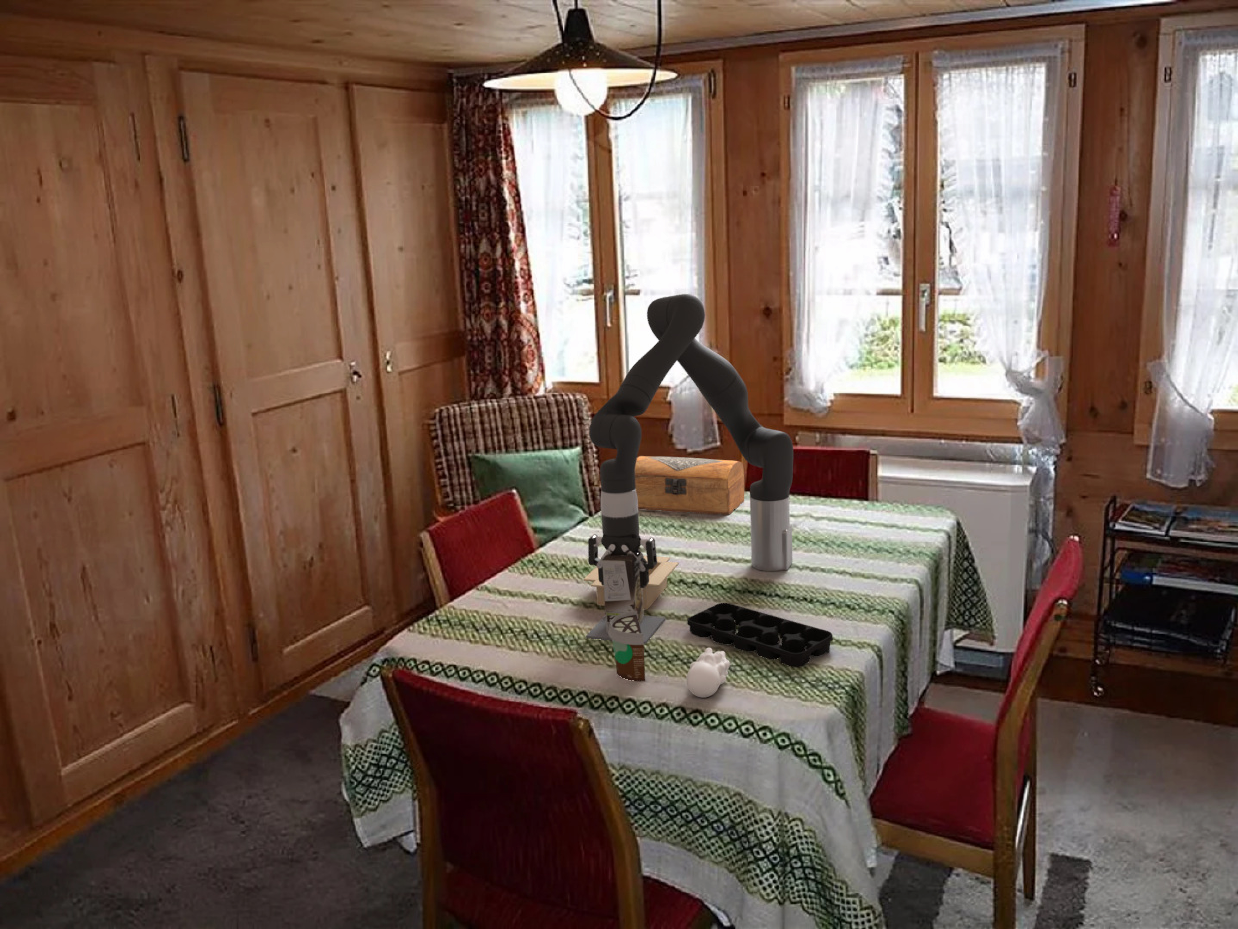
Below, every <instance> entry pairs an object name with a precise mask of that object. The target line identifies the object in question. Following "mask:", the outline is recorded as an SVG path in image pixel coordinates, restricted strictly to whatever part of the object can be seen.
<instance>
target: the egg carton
mask: <svg viewBox="0 0 1238 929" xmlns="http://www.w3.org/2000/svg"><path fill="white" fill-rule="evenodd" d="M686 625H687V626H689V632H690V633H691V635H693V636H695V637H698V638H704V639H705V638H706V639H707V638H711V641H712V642H714V643H718V644H720V645H726V646H727V645H729V646H730V645H733V648H734V649H736V650H740V651H742V650H743V651H742V652H745V651H746V652H747V653H753V652H755V653H756V655H757V656H758V657H760V656H762V657H761V658H763V657H764V658H763V659H766V658H767V659H766V660H770V659H773V660H774V659H775V660H778V659H777V658H779V661H780V664H782V663H783V665H784V664H785V665H784V666H787V665H788V666H787V667H790V666H791V667H790V668H802V667H804V666H806V665H807V664H809V663H810V661H811V657H821V656H824V655H826V654H828V653H829V652H830V648H831V642H833V641H834V636H833V633H832V632H831V631H828V630H826V629H822V628H818V627H814V626H811V625H807V624H805V623H800V622H798V621H793V620H790V619H786V618H783V617H779V616H776V615H772V614H768V613H764V612H762V611H757V610H754V609H750V608H747V607H743V606H741V605H736V604H733V603H729V602H719V603H717V604H714V605H712V606H710V607H709V608H706V609H704V610H702V611H700V612H698V613H696V614H694V615H692V616H690V617H688V618H687V619H686ZM737 626H738V627H737ZM780 640H781V643H779V642H780ZM773 660H772V661H773ZM775 660H774V661H775ZM808 662H809V663H808Z"/></svg>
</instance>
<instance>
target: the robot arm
mask: <svg viewBox="0 0 1238 929" xmlns="http://www.w3.org/2000/svg"><path fill="white" fill-rule="evenodd" d="M705 317H706V313H705V307H704V304H703V302H702V301H701V299H700V298H699V297H697V296H696V295H694V294H691V293H682V294H675V295H669V296H663V297H659V298H657V299H654V300H652V301H651V303H650V304H649V305H648V306H647V311H646V318H647V323H648V326H649V328H650V330H651V332H652V334H653V336H654V337H655V338H656V339H657V340H658V341H657V343H655V344H654V346H652V347H651V348H650V349H649V350H648V351H647V352H646V353H644V355H642V356H641V357H640V358H639V359H638V360H637V361H636V362H635V364H633V366H632V367H631V368H630V369H629V370H628V372H627V374H626V375H625V378H624V379H623V380H622V382H621V384H620V386H619V388H618V390H617V392H616V393H615V394H614V395H612V396H611V397H610V398H609V399H608V400H607V401H606V403H604V404H603V406H601V408H599V409H598V411H597V412H596V413H595V414H594V416H593V417H592V419H591V421H590V423H589V429H588V435H589V439H590V441H591V443H592V444H593V445H594V446H596V447H598V448H601V449H611V450H616V456H615V458H610V459H607V460H604V461H602V463H601V465H600V467H599V473H600V474H599V476H600V477H599V478H600V490H601V491H600V511H601V514H600V515H601V525H602V526H601V529H602V536H598V535H597V533H594V534H593V535H591V536H590V537H589V538H588V540H587V541H588V542H587V544H588V546H587V550H588V552H587V553H588V555H587V557H588V558H587V561H588V564H589V566H594V567H597V568H598V575H599V576H598V577H599V582H601V585H604V582H603V564H602V560H603V558H604V557H605V556H610V555H628V557H634V563H635V564H636V565H637V566H638V568H639V569H640V571H639V575H640V588H645V587H646V585H647V584H648V583H649V569H653V568H654V567H655V566H656V565H657V557H658V556H657V548H656V540H655V538H654V537H649V539H647V538H646V539H645V538H644V539H643V538H641V536H640V523H639V522H640V518H639V510H638V499H637V494H636V484H635V465H636V460H637V458H638V456H639V449H640V446H641V440H642V427H641V424H640V423H639V421H638V419H637V418H636V417H638V416H641V415H643V414H644V413H645V412H646V411H647V409H648V408H649V406H650V404H651V402H652V401H653V399H654V397H655V395H656V393H657V391H658V389H659V387H661V385H662V382H663V381H664V380H665V378H666V376H667V375H668V373H669V372H670V371H671V369H672V368H673V366H674V365H675V364H676V362H678V364H679V365H680V367H682V369H683V370H684V372H686V374H687V375H688V377H689V378H690V379H691V381H692V382H693V383H694V385H695V386H696V387H697V389H698V390H699V392H700V394H701V395H702V397H704V399H705V401H706V402H707V404H708V405H709V406H710V407H711V408H712V410H713V411H714V412H715V414H716V415H717V417H718V418H719V419H720V421H721V422H722V423H723V425H724V426H725V427H726V429H727V431H728V432H729V434H730V435H731V437H732V439H733V441H734V443H735V445H736V446H737V449H738V450H739V452H740V454H741V455H742V457H743V458H744V460H745V461H746V462H747V463H748V464H750V465H752V466H753V467H754V466H755V467H758V468H762V475H761V476H762V477H761V479H760V480H758V481H754V482H752V483H751V484H750V486H749V506H750V507H749V508H750V509H749V510H750V513H749V515H750V546H751V548H750V549H751V551H750V552H751V553H750V554H751V566H752V567H753V568H754V569H756V570H759V571H764V572H765V571H766V572H767V571H768V572H777V571H783V570H784V571H788V570H789V569H790V567H791V564H793V526H792V524H791V523H790V519H791V518H790V517H791V516H790V489H791V487H792V483H793V476H794V475H793V474H794V471H793V469H794V468H793V467H794V445H793V441H792V438H791V437H790V435H789V434H788V433H787V432H784V431H780V430H777V429H771V428H768V427H764V426H763V425H762V424H760V422H759V421H757V419H756V418H755V417H754V414H752V412H751V410H750V408H749V394H748V389H747V386H746V383H745V381H744V380H743V378H742V377H741V375H740V374H739V372H738V371H737V370H736V369H735V366H733V365H732V363H730V361H729V360H727V359H726V358H724V357H723V356H721V354H718V353H717V352H715V351H714V350H712V349H710V348H708V346H705V345H704V344H702V343H701V342H700V341H698V340H697V339H696V337H697V336H698V335H699V334H700V332H701V330H702V329H703V326H704V323H705ZM600 545H602V546H603V548H604V549H605V550H606V551H605V552H604V554H602V556H601V558H599V546H600ZM641 546H642V547H643V549H644V551H646V556H647V561H646V559H645V558H644V556H645V555H644V554H643V552H642V551H641V549H640V550H639V547H640V548H641ZM635 553H637V556H636V555H635Z"/></svg>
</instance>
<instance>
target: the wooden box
mask: <svg viewBox="0 0 1238 929" xmlns="http://www.w3.org/2000/svg"><path fill="white" fill-rule="evenodd" d="M744 474H745V473H744V466H743V462H741V461H739V460H738V461H737V460H729V459H728V460H727V459H726V460H724V459H712V458H711V459H709V458H696V457H680V456H679V457H678V456H647V455H646V456H644V455H639V456H637V460H636V465H635V484H636V494H637V499H638V509H646V510H645V511H655V510H661V511H660V512H670V513H671V512H674V513H687V512H690V513H689V514H703V513H705V515H718V514H722V515H721V516H729V515H731V514H732V513H733V512H734V511H735V510H736V509H737V508H739V507H740V506H741V505H740V504H741V503H742V504H743V503H744V502H745V476H744ZM734 509H735V510H734ZM733 510H734V511H733ZM691 512H692V513H691ZM693 512H694V513H693Z"/></svg>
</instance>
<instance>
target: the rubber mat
mask: <svg viewBox="0 0 1238 929" xmlns="http://www.w3.org/2000/svg"><path fill="white" fill-rule="evenodd" d="M665 621H666V617H665V616H655V615H654V616H652V615H644V619H643V621H642V622H641V624H640V629H641V633H643V637H644V645H647V643H648V642H650V641H651V639H652V638H653V637H654V635H655V633H656V632H657V631H658V630H659V629H660V628H661V626H662V625H663V624H664V623H665ZM586 638H591V639H590V640H596V639H601V640H600V641H606V640H610V641H609V642H613V641H612V639H611V638H610V637H609V635H608V633H607V632H606V615H604V616H603V617H602V618H601V619H600V621H599V622H598V623H597V624H596V625H595V626H594V627H593V628H592V629H591V630H590V631H589V632H588V633H587V634H586V636H585V639H586ZM650 638H651V639H650Z"/></svg>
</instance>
